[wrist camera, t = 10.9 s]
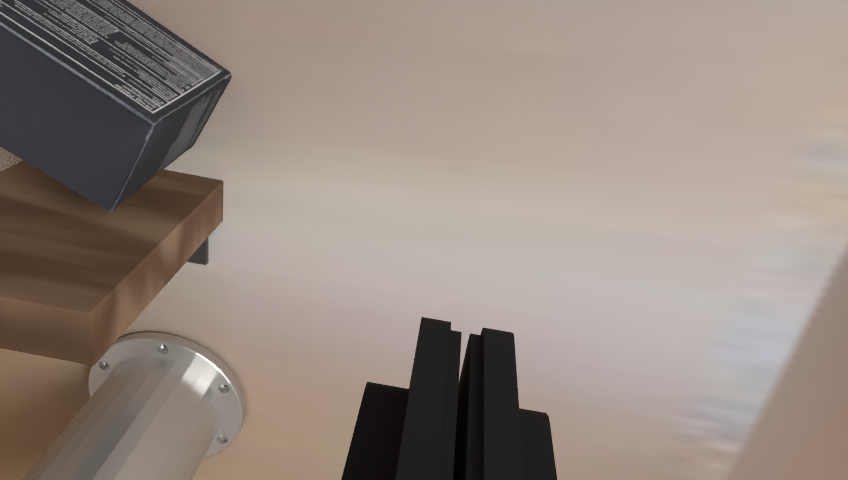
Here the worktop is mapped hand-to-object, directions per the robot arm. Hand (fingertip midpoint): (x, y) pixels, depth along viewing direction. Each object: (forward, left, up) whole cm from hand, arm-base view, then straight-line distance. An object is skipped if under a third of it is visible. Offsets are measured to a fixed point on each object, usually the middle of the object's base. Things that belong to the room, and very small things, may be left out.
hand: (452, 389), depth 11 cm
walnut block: (-12, +21, -29) cm, 38 cm away
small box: (-4, +21, -29) cm, 36 cm away
